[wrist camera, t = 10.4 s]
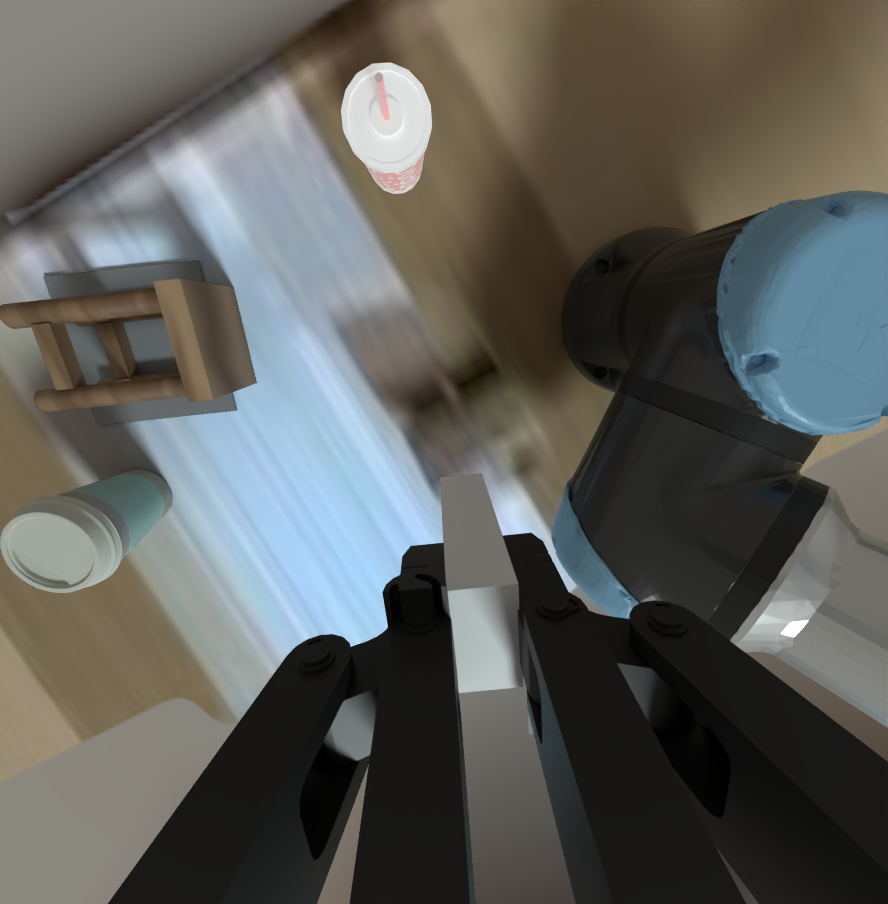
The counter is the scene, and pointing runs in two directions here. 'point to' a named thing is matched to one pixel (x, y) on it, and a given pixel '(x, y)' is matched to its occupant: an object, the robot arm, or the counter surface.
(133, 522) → the coffee cup
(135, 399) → the stool
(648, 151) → the counter surface
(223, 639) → the counter surface
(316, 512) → the counter surface
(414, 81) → the beverage cup
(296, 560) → the counter surface
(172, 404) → the mat
